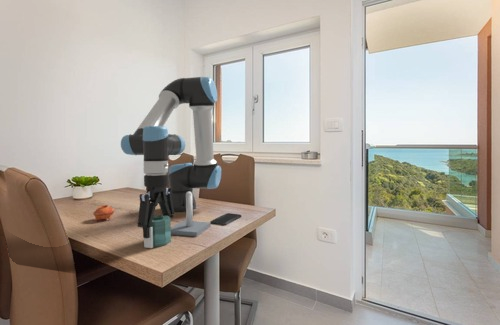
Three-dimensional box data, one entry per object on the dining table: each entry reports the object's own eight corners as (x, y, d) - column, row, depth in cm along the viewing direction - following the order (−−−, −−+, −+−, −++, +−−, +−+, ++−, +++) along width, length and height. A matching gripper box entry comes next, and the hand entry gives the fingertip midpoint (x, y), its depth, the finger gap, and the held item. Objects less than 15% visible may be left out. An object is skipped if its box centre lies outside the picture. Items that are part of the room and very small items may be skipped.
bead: (155, 237, 87) (154, 214, 86) (174, 239, 85) (174, 216, 84) (140, 245, 79) (139, 220, 79) (161, 247, 77) (160, 222, 77)
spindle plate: (183, 223, 102) (182, 188, 101) (210, 226, 99) (210, 189, 98) (166, 233, 90) (165, 193, 89) (196, 236, 87) (196, 195, 86)
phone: (242, 214, 113) (225, 223, 99) (242, 217, 113) (225, 226, 99) (227, 212, 116) (208, 221, 103) (227, 215, 116) (208, 224, 103)
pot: (120, 217, 111) (116, 203, 109) (105, 226, 104) (101, 211, 102) (106, 214, 114) (103, 201, 112) (91, 223, 107) (87, 209, 105)
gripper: (144, 178, 69) (146, 256, 71) (183, 171, 90) (184, 232, 91) (121, 177, 71) (124, 254, 72) (165, 170, 92) (166, 230, 93)
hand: (158, 241), depth 82 cm, fingers open, 9 cm apart
